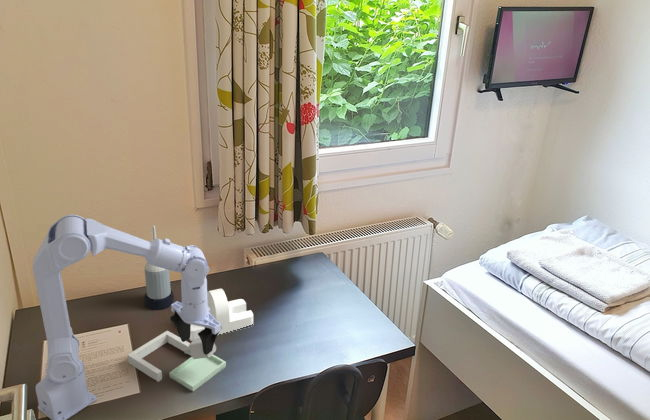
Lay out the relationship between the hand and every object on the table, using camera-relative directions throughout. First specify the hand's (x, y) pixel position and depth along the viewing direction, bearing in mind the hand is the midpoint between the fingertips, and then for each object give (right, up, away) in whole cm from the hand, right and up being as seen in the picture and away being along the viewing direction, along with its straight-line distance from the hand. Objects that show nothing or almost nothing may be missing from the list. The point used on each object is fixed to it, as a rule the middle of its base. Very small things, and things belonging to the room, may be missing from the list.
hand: (196, 345), depth 124 cm
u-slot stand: (+1, 0, +21) cm, 22 cm away
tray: (0, -7, +3) cm, 8 cm away
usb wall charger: (+1, -3, +1) cm, 3 cm away
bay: (-10, -5, +7) cm, 13 cm away
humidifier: (-18, +5, +29) cm, 35 cm away
